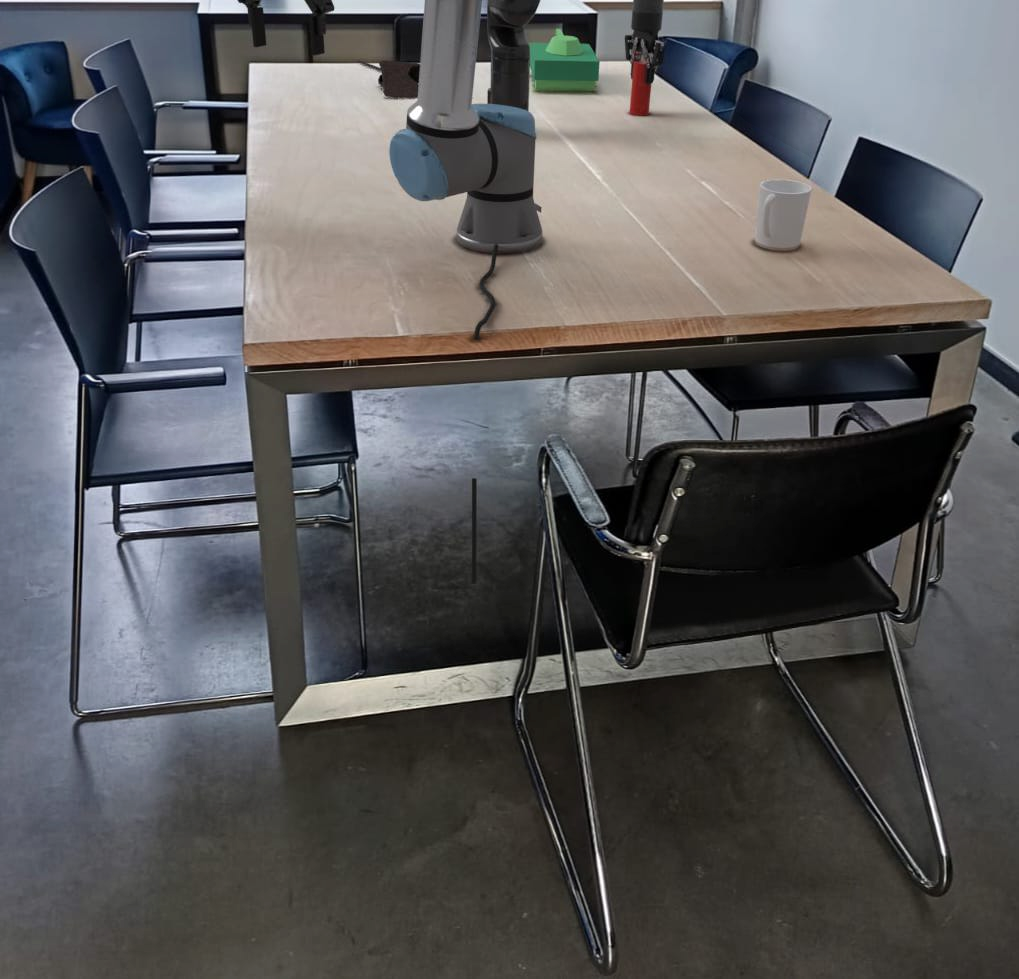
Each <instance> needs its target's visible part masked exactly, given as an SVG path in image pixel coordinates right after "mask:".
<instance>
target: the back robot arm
mask: <svg viewBox="0 0 1019 979" xmlns="http://www.w3.org/2000/svg"><path fill="white" fill-rule="evenodd" d="M540 3H541V0H487V3H486V22H487V23H486V25H487V26H486V27H487V39H488V44H489V49H490V87H488V89H487V92H486V94H487V97H486V98H487V99H486V100H487V103H486V104H497V105H505V106H511V107H516V108H520V109H524V110H526V111H528V112H530V110H529V109H530V76H531V75H530V74H531V68H530V44H529V43H530V42H529V40H528V38H527V35H526V33H525V32H526V31H525V26H526V25H527V24H528V23H530V21H532V19H533V18H534V16H535V14H536V13H537V11H538V8H539V6H540ZM664 4H665V0H633V1H632V11H631V25H630V28H631V30H633V32H632V34H625V35H624V50H625V52H624V53H625V60H626V61H629V63H630V80H632V76H633V63H634V61H638V60H642V58H643V59H644V61H646V67H647V68H646V74H645V83H646V84H651V85H652V84H653V83H654V80H655V74H656V68H658V67H661V66H662V64H663V60H664V56H665V52H666V48H667V42H666V41H662V40H660V38H659V32H660V31H661V30H662V26H663V15H664ZM650 61H651V63H650ZM357 63H358V64H360V65H363V66H367V67H370V68H372V69H375V70H377V71H380V72H381V69H380V66H376V65H374V64H371V63H368V62H365V61H362V60H357Z"/></svg>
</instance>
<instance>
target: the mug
mask: <svg viewBox="0 0 1019 979" xmlns="http://www.w3.org/2000/svg"><path fill="white" fill-rule="evenodd" d="M758 189H759V190H758V199H757V208H756V209H757V210H756V212H757V213H756V218H755V220H756V222H755V232H754V243H755V244H756V245H757V246H758V247H761V248H763V249H766V250H771V251H780V252H782V251H783V252H784V251H785V252H787V251H792V250H797V248H799V247H800V246H801V242H802V241H801V240H802V236H803V232H804V226H805V222H806V218H807V212H808V208H809V203H810V198H811V194H812V187H811V185H809V184H808V183H805V182H802V181H798V180H793V179H785V178H783V179H782V178H775V179H767V180H763V181H761V182H760V183H759V188H758Z"/></svg>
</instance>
